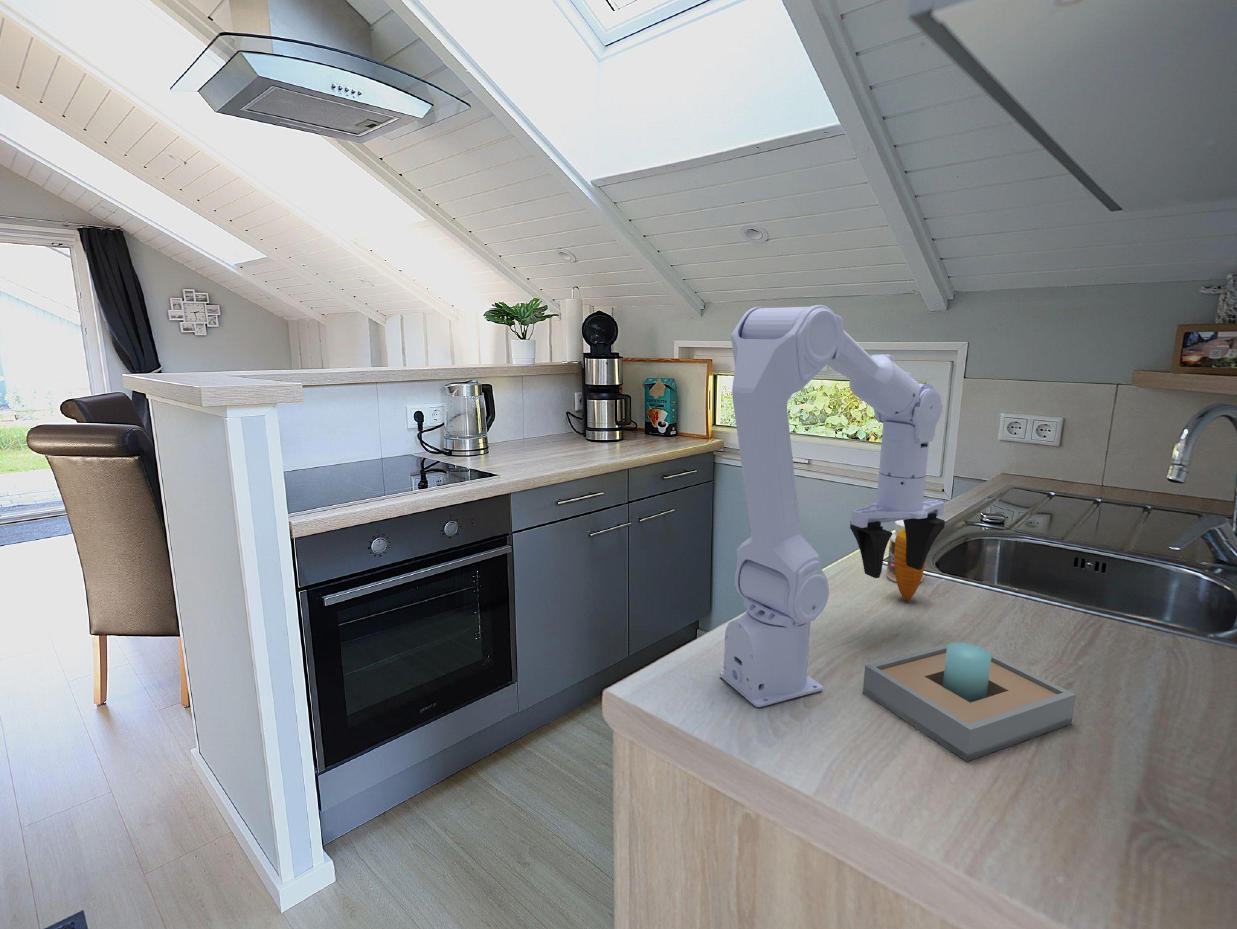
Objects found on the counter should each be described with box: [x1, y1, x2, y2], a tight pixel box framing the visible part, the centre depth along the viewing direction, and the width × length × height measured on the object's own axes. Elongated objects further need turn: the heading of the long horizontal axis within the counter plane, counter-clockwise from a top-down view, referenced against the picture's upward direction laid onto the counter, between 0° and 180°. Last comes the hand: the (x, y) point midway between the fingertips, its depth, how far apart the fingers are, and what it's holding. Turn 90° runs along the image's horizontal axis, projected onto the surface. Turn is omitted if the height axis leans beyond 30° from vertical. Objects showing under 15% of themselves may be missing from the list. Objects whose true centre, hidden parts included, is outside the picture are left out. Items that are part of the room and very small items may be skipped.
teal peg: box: [943, 642, 992, 703], centre depth 75 cm, size 4×4×6 cm
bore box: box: [862, 639, 1077, 763], centre depth 75 cm, size 16×14×4 cm
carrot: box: [894, 529, 928, 602], centre depth 104 cm, size 5×5×15 cm
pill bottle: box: [886, 520, 924, 583], centre depth 113 cm, size 6×6×10 cm
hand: (893, 571), depth 92 cm, fingers open, 7 cm apart
